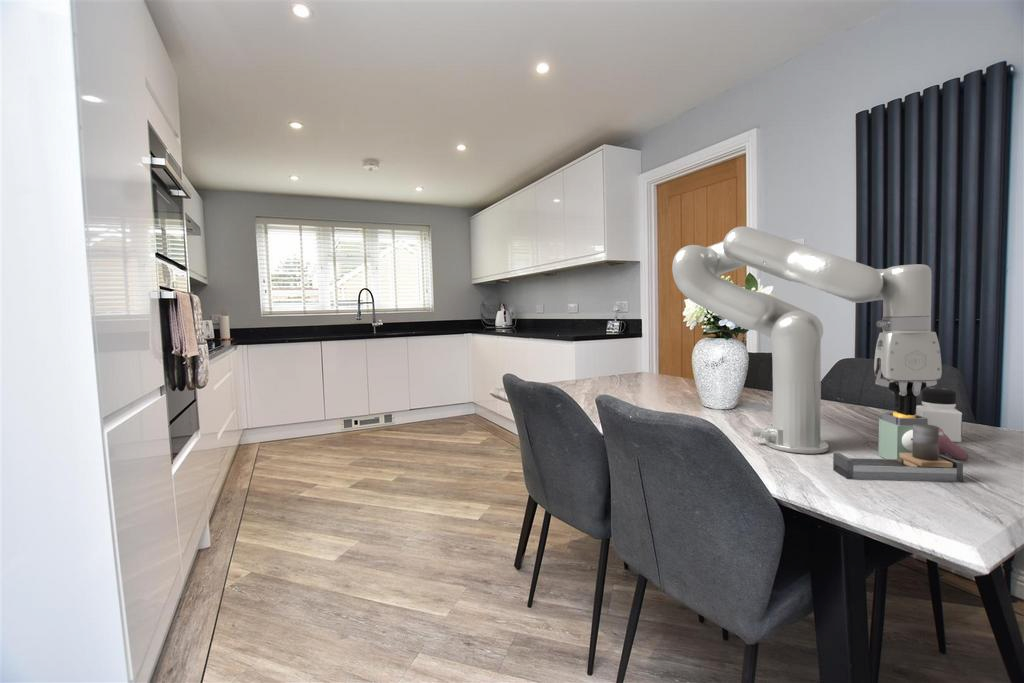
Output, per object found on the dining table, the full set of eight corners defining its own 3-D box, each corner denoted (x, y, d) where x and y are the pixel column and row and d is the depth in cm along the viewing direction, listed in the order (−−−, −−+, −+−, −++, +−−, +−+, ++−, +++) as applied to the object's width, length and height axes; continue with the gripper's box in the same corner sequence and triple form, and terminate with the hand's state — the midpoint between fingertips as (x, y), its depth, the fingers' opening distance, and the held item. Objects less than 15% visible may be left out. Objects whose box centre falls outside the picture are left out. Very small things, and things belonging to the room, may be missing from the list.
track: (847, 478, 87) (847, 460, 86) (833, 470, 91) (833, 452, 91) (962, 481, 84) (963, 462, 83) (941, 472, 88) (942, 454, 88)
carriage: (921, 472, 84) (922, 430, 84) (899, 461, 90) (899, 422, 90) (952, 472, 83) (953, 430, 83) (928, 462, 89) (929, 422, 89)
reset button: (900, 423, 94) (900, 415, 94) (888, 419, 98) (888, 411, 98) (920, 423, 94) (920, 415, 94) (907, 419, 97) (908, 411, 97)
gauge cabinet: (898, 465, 93) (899, 419, 93) (878, 455, 100) (879, 412, 99) (932, 466, 92) (933, 419, 92) (909, 456, 99) (910, 412, 98)
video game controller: (927, 453, 105) (910, 425, 106) (951, 446, 103) (934, 418, 104) (945, 466, 96) (926, 436, 97) (972, 459, 94) (952, 428, 95)
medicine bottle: (962, 443, 107) (963, 391, 106) (921, 439, 111) (922, 390, 110) (953, 435, 113) (954, 387, 112) (915, 432, 117) (916, 385, 116)
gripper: (877, 327, 92) (876, 417, 93) (962, 324, 90) (960, 417, 91) (855, 326, 99) (855, 410, 100) (933, 324, 97) (932, 410, 98)
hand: (905, 413), depth 96 cm, fingers closed
